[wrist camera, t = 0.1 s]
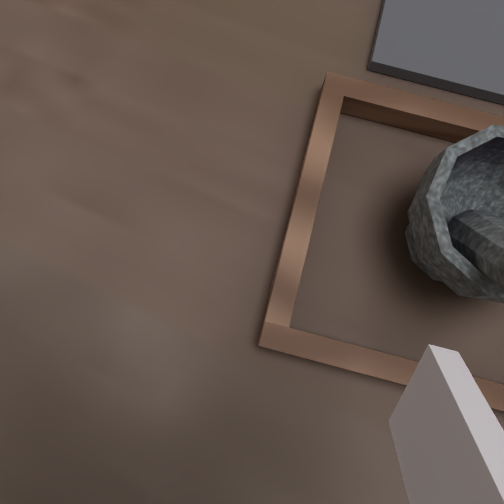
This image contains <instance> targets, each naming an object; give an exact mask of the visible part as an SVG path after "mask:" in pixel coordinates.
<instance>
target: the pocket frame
mask: <svg viewBox="0 0 504 504" xmlns="http://www.w3.org/2000/svg"><path fill="white" fill-rule="evenodd" d="M340 113H343V114H347V115H351V116H355V117H359V118H363V119H367V120H371V121H374V122H378V123H382V124H386V125H390V126H394V127H398V128H401V129H405V130H409V131H413V132H417V133H421V134H425V135H428V136H432V137H436V138H440V139H444V140H448V141H452V142H456V143H457V142H459V141H461V140H463V139H465V138H467V137H469V136H471V135H473V134H475V133H477V132H479V131H481V130H483V129H485V128H487V127H489V126H491V125H499V126H504V117H502V116H498V115H495V114H491V113H487V112H483V111H479V110H475V109H471V108H467V107H464V106H460V105H456V104H452V103H448V102H444V101H440V100H436V99H432V98H429V97H425V96H421V95H417V94H413V93H409V92H405V91H401V90H398V89H394V88H390V87H386V86H382V85H378V84H374V83H370V82H367V81H363V80H359V79H355V78H351V77H347V76H343V75H339V74H335V73H332V72H328V71H327V74H326V77H325V80H324V82H323V85H322V88H321V92H320V96H319V100H318V104H317V108H316V112H315V116H314V119H313V123H312V127H311V131H310V135H309V139H308V143H307V147H306V151H305V155H304V159H303V163H302V167H301V171H300V175H299V179H298V183H297V187H296V191H295V195H294V199H293V203H292V207H291V211H290V215H289V219H288V223H287V227H286V231H285V235H284V239H283V243H282V247H281V251H280V255H279V259H278V262H277V266H276V270H275V274H274V278H273V282H272V286H271V290H270V294H269V298H268V302H267V306H266V310H265V314H264V318H263V322H262V326H261V330H260V334H259V338H258V342H257V345H258V346H261V347H265V348H269V349H272V350H276V351H280V352H284V353H287V354H291V355H295V356H299V357H302V358H306V359H310V360H314V361H317V362H321V363H325V364H329V365H332V366H336V367H340V368H344V369H347V370H351V371H355V372H359V373H362V374H366V375H370V376H374V377H377V378H381V379H385V380H389V381H392V382H396V383H400V384H404V385H408V383H409V381H410V379H411V377H412V375H413V373H414V371H415V369H416V367H417V365H418V364H419V362H417V361H413V360H409V359H406V358H402V357H398V356H394V355H391V354H387V353H383V352H379V351H376V350H372V349H368V348H364V347H360V346H357V345H353V344H349V343H345V342H342V341H338V340H334V339H330V338H327V337H323V336H319V335H315V334H312V333H308V332H304V331H300V330H297V329H293V328H289V325H290V321H291V316H292V312H293V308H294V304H295V300H296V295H297V291H298V287H299V283H300V279H301V274H302V270H303V266H304V262H305V258H306V253H307V249H308V245H309V241H310V237H311V232H312V228H313V224H314V220H315V216H316V211H317V207H318V203H319V199H320V195H321V190H322V186H323V182H324V178H325V174H326V169H327V165H328V161H329V157H330V152H331V148H332V144H333V140H334V136H335V131H336V127H337V123H338V119H339V115H340ZM472 377H473V376H472ZM473 378H474V380H475V382H476V384H477V385H478V387H479V389H480V391H481V392H482V394H483V396H484V398H485V399H486V401H487V403H488V405H489V406H490V408H494V409H497V410H501V411H504V385H503V384H500V383H496V382H492V381H488V380H485V379H481V378H477V377H473Z"/></svg>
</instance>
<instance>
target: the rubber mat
mask: <svg viewBox="0 0 504 504" xmlns="http://www.w3.org/2000/svg"><path fill="white" fill-rule="evenodd" d="M367 70H370V71H374V72H378V73H381V74H385V75H389V76H393V77H397V78H401V79H405V80H409V81H413V82H416V83H420V84H424V85H428V86H432V87H436V88H440V89H444V90H447V91H451V92H455V93H459V94H463V95H467V96H471V97H475V98H479V99H482V100H486V101H490V102H494V103H498V104H502V105H504V0H383V3H382V8H381V12H380V16H379V21H378V25H377V29H376V34H375V38H374V43H373V47H372V51H371V56H370V60H369V65H368V69H367Z"/></svg>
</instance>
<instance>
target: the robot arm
mask: <svg viewBox="0 0 504 504" xmlns="http://www.w3.org/2000/svg"><path fill="white" fill-rule="evenodd" d="M389 425H390V429H391V433H392V437H393V441H394V445H395V449H396V453H397V457H398V461H399V465H400V469H401V473H402V477H403V481H404V485H405V489H406V493H407V497H408V501H409V504H504V431H503V429H502V427H501V425H500V424H499V422H498V420H497V418H496V417H495V415H494V413H493V411H492V410H491V408H490V406H489V405H488V403H487V401H486V399H485V398H484V396H483V394H482V392H481V391H480V389H479V387H478V385H477V384H476V382H475V380H474V378H473V377H472V375H471V373H470V371H469V370H468V368H467V366H466V364H465V363H464V361H463V359H462V358H461V356H460V354H459V352H457V351H453V350H449V349H445V348H441V347H438V346H434V345H430V344H428V346H427V348H426V350H425V352H424V354H423V356H422V358H421V360H420V362H419V364H418V365H417V367H416V369H415V371H414V373H413V375H412V377H411V379H410V381H409V383H408V385H407V387H406V388H405V390H404V392H403V394H402V396H401V398H400V400H399V402H398V404H397V406H396V408H395V410H394V411H393V413H392V415H391V417H390V419H389Z"/></svg>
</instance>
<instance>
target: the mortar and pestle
mask: <svg viewBox="0 0 504 504" xmlns="http://www.w3.org/2000/svg"><path fill="white" fill-rule="evenodd" d="M408 217H409V224H408V226H407V229H406V231H405V236H406V240H407V244H408V248H409V252H410V257H411V260H412V261H413V262H414V263H415V264H416V265H417V266H418V267H419V268H420V269H422V270H423V271H424V272H425V273H426V274H427V275H428V276H429V277H430V278H431V279H432V280H436V281H442V282H444V283H445V284H446V285H447V286H448V287H449V288H450V289H451V290H452V291H453V292H454V293H455V294H457V295H458V296H463V297H470V298H476V299H482V300H489V301H495V302H502V303H504V126H499V125H491V126H489V127H487V128H485V129H483V130H481V131H479V132H477V133H475V134H473V135H471V136H469V137H467V138H465V139H463V140H461V141H459V142H457V143H455V144H453V145H451V146H449V147H447V148H446V149H445V150H444V151H443V152H441V153H440V154H439V155H438V156H437V157H436V158H435V159H434V160H433V161H432V163H431V164H430V166H429V167H428V168H427V170H426V171H425V174H424V176H423V178H422V180H421V183H420V185H419V187H418V190H417V192H416V194H415V196H414V199H413V201H412V203H411V206H410V208H409V210H408Z"/></svg>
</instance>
